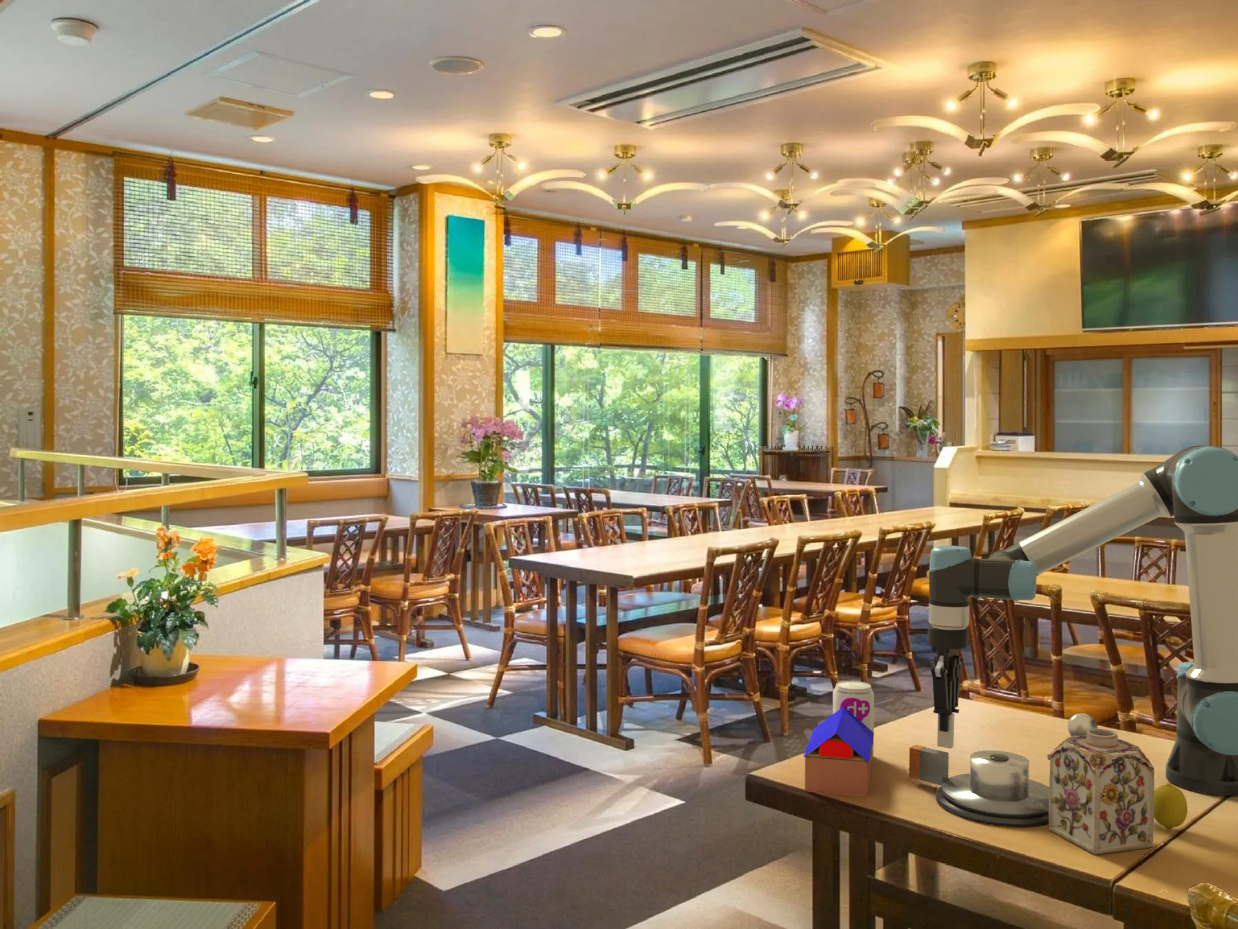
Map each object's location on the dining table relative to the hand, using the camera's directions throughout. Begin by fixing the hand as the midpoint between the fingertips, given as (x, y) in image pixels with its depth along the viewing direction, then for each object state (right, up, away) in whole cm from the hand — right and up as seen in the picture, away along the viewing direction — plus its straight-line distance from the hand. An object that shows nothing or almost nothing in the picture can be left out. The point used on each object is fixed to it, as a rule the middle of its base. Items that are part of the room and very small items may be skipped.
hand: (945, 746), depth 209 cm
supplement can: (-15, -6, +13) cm, 21 cm away
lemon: (+29, -7, -27) cm, 41 cm away
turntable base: (+5, -7, -15) cm, 17 cm away
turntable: (+3, -5, -13) cm, 14 cm away
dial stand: (+19, -7, -13) cm, 24 cm away
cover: (+5, -4, -16) cm, 17 cm away
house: (-21, -7, 0) cm, 21 cm away
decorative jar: (+16, -7, -31) cm, 36 cm away
